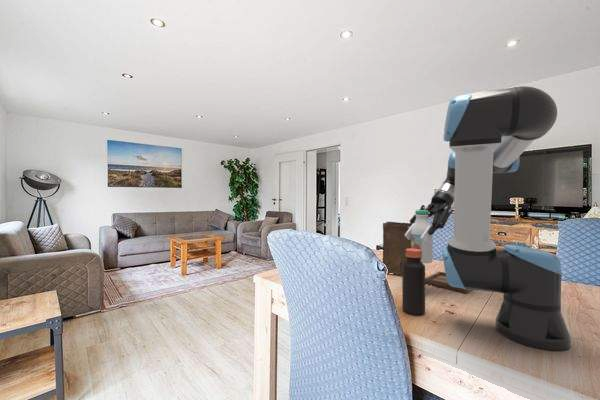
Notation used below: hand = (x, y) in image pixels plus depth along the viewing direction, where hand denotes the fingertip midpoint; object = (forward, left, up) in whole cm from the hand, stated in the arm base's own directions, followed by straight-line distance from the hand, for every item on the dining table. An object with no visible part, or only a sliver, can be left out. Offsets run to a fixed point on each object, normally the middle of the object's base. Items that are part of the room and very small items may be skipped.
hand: (414, 238), depth 103 cm
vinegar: (-17, -7, -21) cm, 28 cm away
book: (+19, +15, -21) cm, 32 cm away
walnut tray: (+21, -6, -21) cm, 30 cm away
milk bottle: (+3, -1, -9) cm, 10 cm away
